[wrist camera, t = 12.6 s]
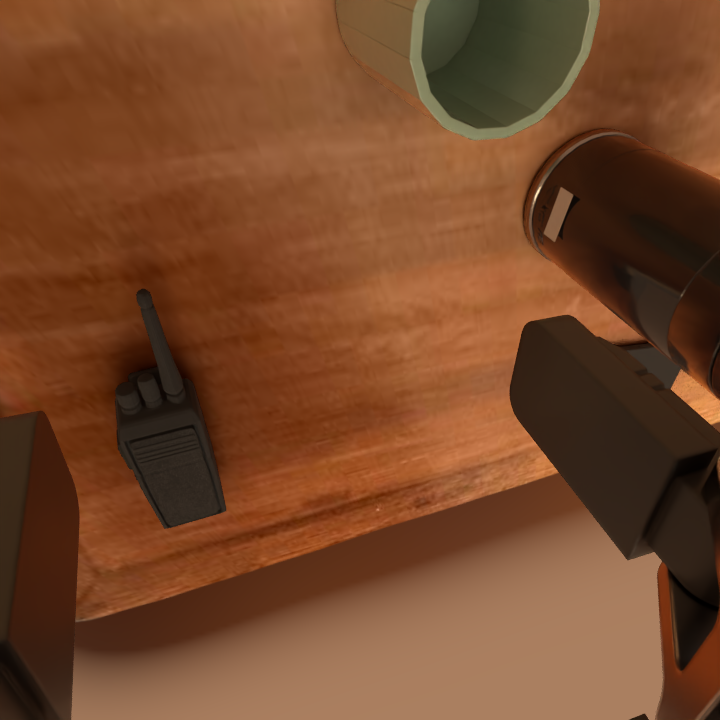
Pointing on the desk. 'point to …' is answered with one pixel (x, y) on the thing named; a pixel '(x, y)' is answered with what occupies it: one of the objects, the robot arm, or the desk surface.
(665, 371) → the phone
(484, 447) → the desk surface
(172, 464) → the walkie-talkie
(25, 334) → the desk surface
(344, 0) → the pencil cup
